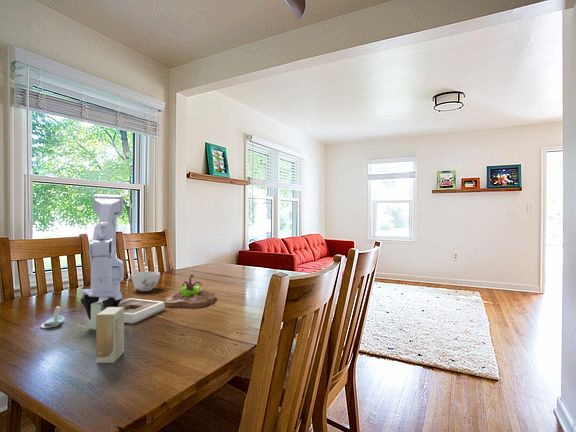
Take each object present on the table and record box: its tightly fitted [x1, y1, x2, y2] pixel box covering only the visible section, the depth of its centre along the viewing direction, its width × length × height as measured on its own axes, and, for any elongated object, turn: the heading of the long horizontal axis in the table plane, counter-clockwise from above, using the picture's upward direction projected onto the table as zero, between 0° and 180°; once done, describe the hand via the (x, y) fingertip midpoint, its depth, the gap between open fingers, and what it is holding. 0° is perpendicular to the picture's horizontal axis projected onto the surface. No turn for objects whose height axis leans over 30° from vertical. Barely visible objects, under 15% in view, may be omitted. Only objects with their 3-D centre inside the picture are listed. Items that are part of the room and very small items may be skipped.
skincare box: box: [95, 307, 125, 364], centre depth 81 cm, size 6×4×12 cm
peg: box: [90, 300, 105, 331], centre depth 102 cm, size 4×4×8 cm
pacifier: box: [40, 305, 66, 329], centre depth 104 cm, size 7×6×6 cm
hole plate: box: [118, 301, 156, 313], centre depth 116 cm, size 14×14×2 cm
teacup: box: [130, 271, 161, 292], centre depth 153 cm, size 15×12×8 cm
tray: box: [119, 297, 165, 324], centre depth 116 cm, size 16×16×3 cm
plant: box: [163, 274, 216, 309], centre depth 134 cm, size 20×20×11 cm
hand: (101, 319), depth 102 cm, fingers open, 6 cm apart
